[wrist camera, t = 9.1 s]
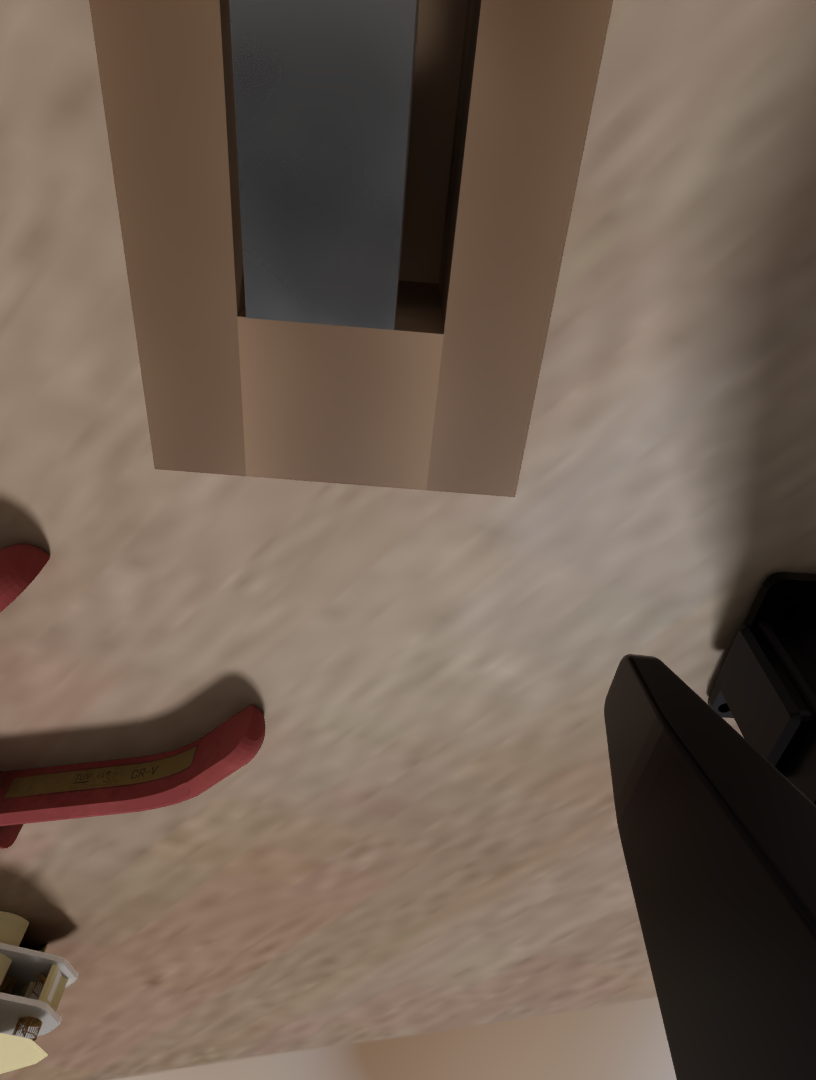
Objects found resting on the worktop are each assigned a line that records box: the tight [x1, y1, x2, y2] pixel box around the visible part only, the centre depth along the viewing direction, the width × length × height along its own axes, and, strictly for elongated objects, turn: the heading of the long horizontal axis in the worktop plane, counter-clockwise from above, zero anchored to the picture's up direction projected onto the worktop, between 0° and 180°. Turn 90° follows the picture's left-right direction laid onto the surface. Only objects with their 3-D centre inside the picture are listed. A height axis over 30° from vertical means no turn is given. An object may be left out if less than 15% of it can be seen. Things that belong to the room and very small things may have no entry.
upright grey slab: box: [229, 0, 419, 330], centre depth 11 cm, size 2×5×8 cm, turn 175°
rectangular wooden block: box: [89, 0, 613, 497], centre depth 13 cm, size 8×14×5 cm, turn 175°
